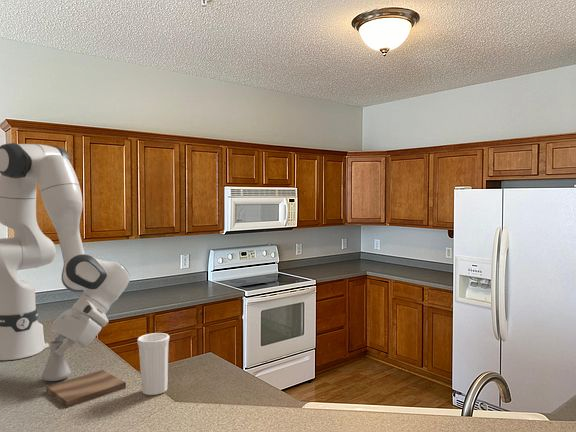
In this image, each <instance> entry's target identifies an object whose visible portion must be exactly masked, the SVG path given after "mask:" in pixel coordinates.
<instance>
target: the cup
mask: <svg viewBox="0 0 576 432" xmlns="http://www.w3.org/2000/svg"><path fill="white" fill-rule="evenodd" d="M136 341H137V346H138V351H139V352H138V353H139V366H140V375H141V376H140V377H141V379H140V380H141V391H142V394H145V395H147V396H154V395H160V394H163V393H164V392H167V390H168V382H169V381H168V375H169V369H168V368H169V342H170V335H169V334H168V333H164V332H153V333H146V334H143V335H141V336H138V338H137V340H136Z"/></svg>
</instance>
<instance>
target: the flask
mask: <svg viewBox="0 0 576 432" xmlns="http://www.w3.org/2000/svg"><path fill="white" fill-rule="evenodd" d="M63 343H64V340H63V341H62V340H55V341H53V340H52V341H50V342H49V346H50V345H51V350H50V353H49V356H48V360H47V362H46V364H45V366H44V370H43V372H42V374H41V377H40V378H41V379H43V380H44V381H48V382H56V381H60V380H64V379H67V378H68V377H69V376H70V375H71V374H73V373H72V371H71V369H70V366H69V364H68V362H67V359H66V357H65V355H64V353H63V354H62V355H61V356H59V355H57V354H56V353H55V352H54V351H55V350H56V348H57V347H60V346H61V345H62V344H63Z"/></svg>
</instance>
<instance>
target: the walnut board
mask: <svg viewBox="0 0 576 432" xmlns="http://www.w3.org/2000/svg"><path fill="white" fill-rule="evenodd" d="M125 389H127V383H126V381H124V380H122V379H120V378H118V377H116V376H115V375H113V374H111V373H110V372H107V371H105V370H103V369H101V370H97V371H94V372H89V373H86V374H83V375H81V376H77V377H72V378H69V379H66V380H63V381H59V382H55V383H53V384H48V385H46V393H47V394H48V395H50V396H52V398H54V399H55V400H56V401H58V402H59V403H61V405H63V406H64V407H66V408H70V407H74V406H76V405H79V404H82V403H85V402H88V401H92V400H94V399H97V398H101V397H103V396H107V395H109V394H112V393H116V392H118V391H121V390H125Z"/></svg>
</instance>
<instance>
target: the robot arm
mask: <svg viewBox="0 0 576 432" xmlns="http://www.w3.org/2000/svg"><path fill="white" fill-rule="evenodd" d="M37 184H38V185H37ZM37 186H38V189H39V192H40V197H41V200H42V203H43V205H44V208H45V210H46V213H47V215H48V217H49V220H50V221H51V223H52V225H53V227H54V229H55V232H56V233H57V234H56V235H57V238H58V242H59V246H60V250H61V254H62V260H63V267H62V272H61V283H62V285H63V286H64V287H65V289H66V290H68V291H69V292H71V293H72V292H73V293H78V294H79V293H83V294H81V296H80V297H79V298H78V299H77V300H76V301H75V302H74V303H73V305H72V306H71V308H68V309H65V310H64V311H63V312H62V313H61V314H60V315H59V316H58V317H57V318H56V320H54V321H53V323H52V324H51V325H50V327H49V330H50V331H52V332H53V333H55V334H56V335H55V336H54V337H53V340H52V341H55V340H62V341H63V344H62V345H61V346H60V347H57V348H56V350H55V351H54V352H55V353H56V354H57V355H59V356H61V355H62V354H63V355H64V353H65V352H66V351H67V350H69V349H70V348H71V347H72V346H73V345H74V344H76V345H77V346H79V347H81V348H86V347H87V346H89V345H90V344H91V342H93V341H94V339H95V338H96V337H97V336H98V335H99V333H100V332H101V330H102V328H104V327H106V326H107V325H108V324H109V319H108V317H107V315H106V314H107V313H108V312H109V310H110V307H111V306H112V304H113V303H115V302H116V301H118V299H119V298H120V296H121V295H122V294H123V293H124V292H125V290H126V288H127V287H128V285H129V283H130V281H131V277H130V273H129V271H128V270H127V268H126V267H125V266H124V265H123V264H122V263H120V262H118V261H115V260H114V261H109V260H108V261H107V260H104V259H100V258H97V257H94V256H92V255H89V254H86V252H85V249H84V245H83V242H82V237H81V233H80V231H81V230H80V223H81V216H82V212H83V205H84V204H83V194H82V190H81V186H80V183H79V179H78V176H77V174H76V171H75V169H74V168H73V165H72V160H71V157H70V154H69V152H68V151H67V150H65V149H63V148H61V147H58V146H56V145H52V146H51V145H46V144H40V143H16V142H13V143H3V144H2V145H0V224H1V225H3V226H5V227H7V228H10V229H12V230H13V235H14V236H13V237H6V238H5V237H4V238H0V361H12V360H19V359H25V358H27V357H28V358H29V357H31V356H35V355H38V354H39V353H41V352H42V351H43V350H45V349H47V348H48V350H49V351H51V345H50V343H48V342H45V337H44V326H43V324H42V323H40V322H39V321H38V316H39V313H38V309H37V303H36V288H35V287H34V285H33V284H32V283H30V282H29V281H27V280H22V279H20V278H19V276H18V274H17V271H20V270H29V269H37V268H40V267H44V266H46V265H50V264H51V263H52V262H53V261H54V259H55V257H56V254H57V253H56V252H57V250H56V245H55V243H54V242H53V241H52V239H50V237H48V236H46V235H45V234H44V233H43V231H42V230H41V228H40V227H39V224H38V221H37Z"/></svg>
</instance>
